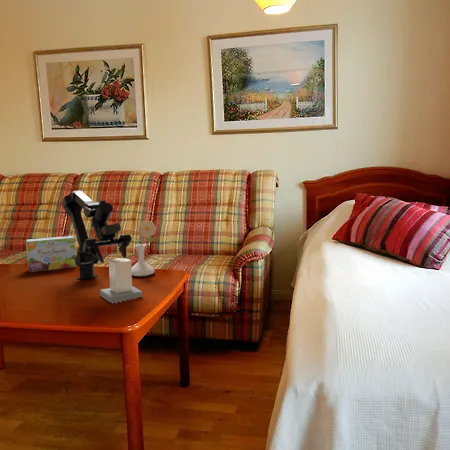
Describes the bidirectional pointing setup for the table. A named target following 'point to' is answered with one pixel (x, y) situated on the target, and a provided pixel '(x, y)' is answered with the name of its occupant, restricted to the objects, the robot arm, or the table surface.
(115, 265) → the cream block
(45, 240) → the snack box
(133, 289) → the grey block
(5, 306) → the table surface
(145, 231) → the flower in vase
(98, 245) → the robot arm
